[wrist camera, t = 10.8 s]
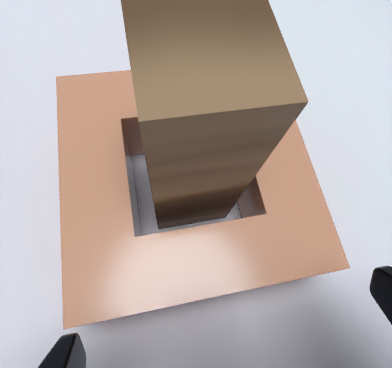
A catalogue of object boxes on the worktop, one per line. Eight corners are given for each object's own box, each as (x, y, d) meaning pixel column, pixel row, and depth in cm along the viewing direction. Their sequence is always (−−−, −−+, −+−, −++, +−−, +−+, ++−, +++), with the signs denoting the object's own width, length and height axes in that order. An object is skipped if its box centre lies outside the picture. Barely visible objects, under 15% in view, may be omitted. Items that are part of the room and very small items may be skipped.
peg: (225, 217, 17) (308, 101, 7) (158, 229, 16) (138, 121, 6) (211, 158, 18) (262, -14, 8) (149, 166, 18) (120, -7, 7)
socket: (308, 273, 16) (350, 268, 12) (91, 320, 14) (63, 329, 11) (253, 100, 20) (272, 57, 16) (79, 120, 18) (56, 76, 15)
